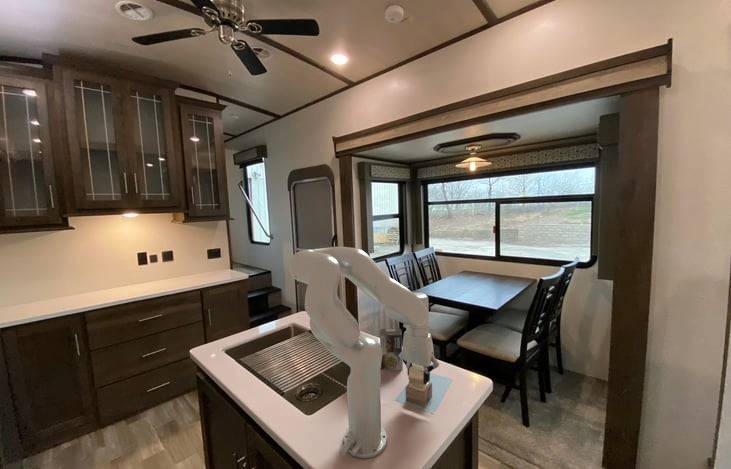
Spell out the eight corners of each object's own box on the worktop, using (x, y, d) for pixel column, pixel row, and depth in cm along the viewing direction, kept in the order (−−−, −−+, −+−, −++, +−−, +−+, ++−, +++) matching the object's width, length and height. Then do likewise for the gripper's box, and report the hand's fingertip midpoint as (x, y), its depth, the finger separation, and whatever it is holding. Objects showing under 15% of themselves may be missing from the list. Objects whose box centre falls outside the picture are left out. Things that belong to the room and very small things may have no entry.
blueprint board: (433, 417, 92) (433, 399, 91) (394, 402, 99) (394, 386, 99) (452, 381, 110) (452, 366, 110) (418, 371, 118) (418, 357, 117)
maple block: (422, 387, 95) (422, 373, 95) (409, 382, 98) (408, 368, 98) (428, 379, 100) (427, 365, 99) (414, 375, 102) (414, 362, 102)
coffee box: (402, 364, 124) (401, 328, 122) (402, 372, 117) (402, 334, 116) (381, 363, 125) (380, 328, 123) (380, 372, 118) (379, 334, 117)
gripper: (390, 328, 99) (391, 378, 100) (438, 339, 90) (439, 393, 91) (400, 321, 105) (401, 368, 107) (445, 330, 96) (446, 381, 97)
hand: (418, 379), depth 99 cm, fingers closed on maple block, 4 cm apart
